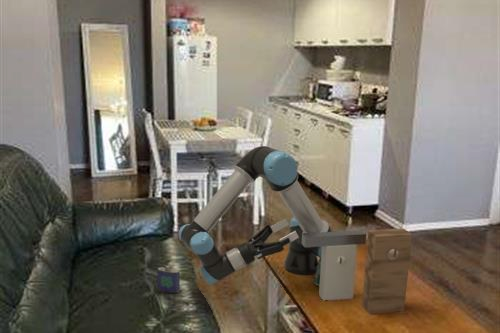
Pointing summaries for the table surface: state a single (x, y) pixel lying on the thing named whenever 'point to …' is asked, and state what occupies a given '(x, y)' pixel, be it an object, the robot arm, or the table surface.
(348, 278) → the cream rectangular box
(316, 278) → the canned tomato
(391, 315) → the table surface
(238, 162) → the robot arm
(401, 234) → the tall cabinet
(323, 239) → the grey square bar
